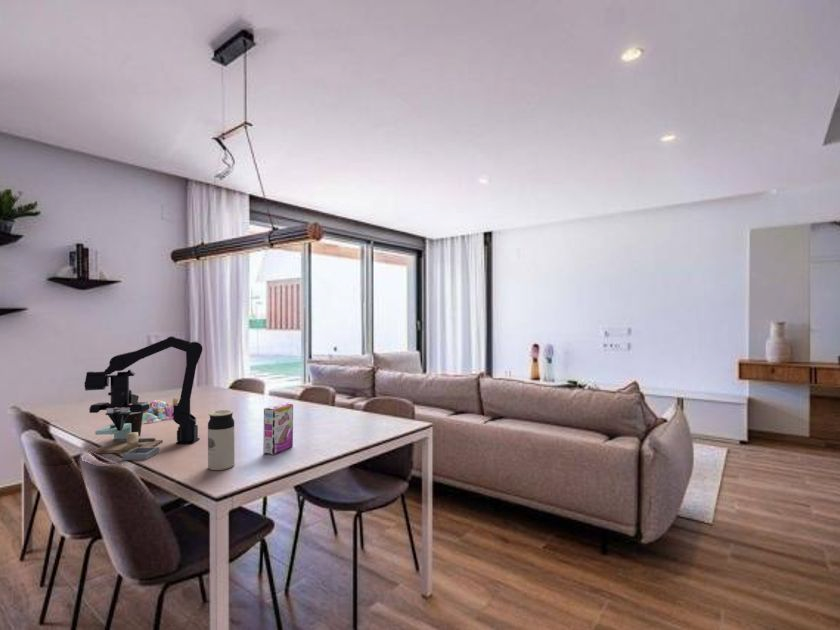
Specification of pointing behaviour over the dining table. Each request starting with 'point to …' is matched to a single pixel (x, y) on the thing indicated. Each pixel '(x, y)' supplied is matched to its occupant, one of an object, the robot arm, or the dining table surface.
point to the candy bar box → (278, 428)
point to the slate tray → (140, 453)
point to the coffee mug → (135, 421)
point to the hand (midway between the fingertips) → (120, 430)
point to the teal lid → (115, 431)
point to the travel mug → (221, 440)
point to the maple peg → (132, 440)
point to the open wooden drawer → (121, 445)
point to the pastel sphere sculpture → (158, 411)
